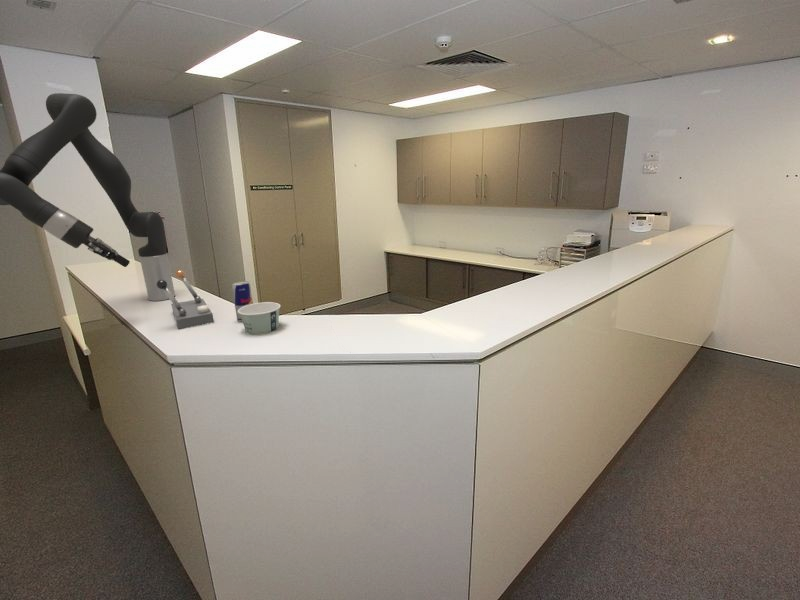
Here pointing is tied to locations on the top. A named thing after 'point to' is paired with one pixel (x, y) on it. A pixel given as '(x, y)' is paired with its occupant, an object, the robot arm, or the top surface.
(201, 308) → the push button
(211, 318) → the control panel
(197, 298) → the orange knob lever
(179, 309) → the black knob lever
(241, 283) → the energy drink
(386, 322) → the top surface
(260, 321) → the food container
